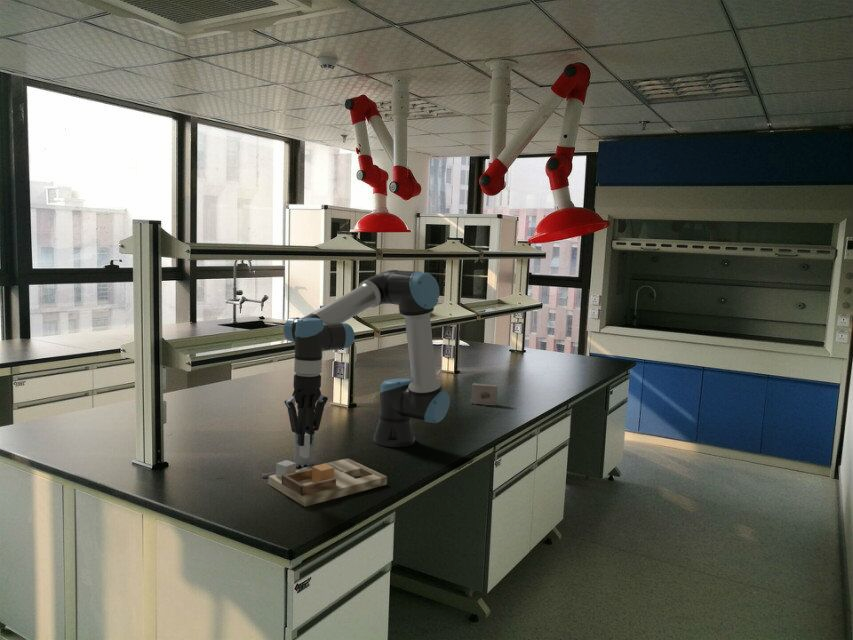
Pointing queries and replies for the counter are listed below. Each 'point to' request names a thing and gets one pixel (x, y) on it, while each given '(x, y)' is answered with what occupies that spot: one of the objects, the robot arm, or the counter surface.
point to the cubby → (294, 485)
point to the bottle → (301, 460)
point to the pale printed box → (484, 394)
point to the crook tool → (267, 474)
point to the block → (285, 468)
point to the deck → (344, 482)
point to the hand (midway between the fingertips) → (304, 456)
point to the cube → (322, 472)
